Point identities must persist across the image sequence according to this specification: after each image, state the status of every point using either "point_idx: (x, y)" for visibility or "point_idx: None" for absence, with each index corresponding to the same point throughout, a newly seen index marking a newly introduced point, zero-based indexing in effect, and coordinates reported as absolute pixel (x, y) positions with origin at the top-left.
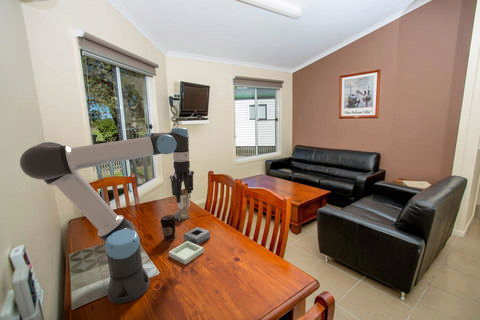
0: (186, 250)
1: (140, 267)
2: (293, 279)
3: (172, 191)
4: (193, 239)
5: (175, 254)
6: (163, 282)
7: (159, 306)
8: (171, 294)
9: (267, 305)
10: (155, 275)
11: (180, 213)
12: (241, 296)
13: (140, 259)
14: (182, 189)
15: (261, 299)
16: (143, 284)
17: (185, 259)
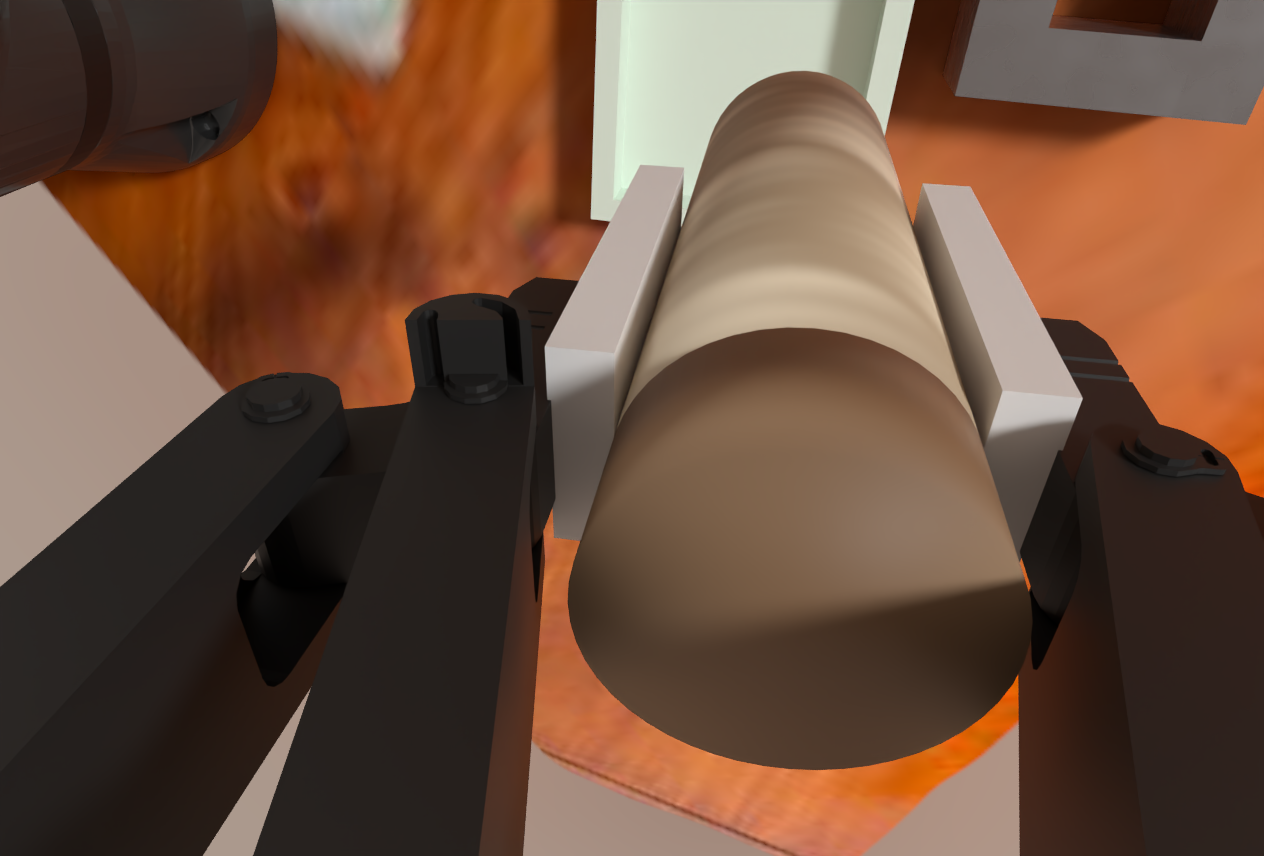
0: (784, 42)
1: (61, 168)
2: (815, 817)
3: (121, 518)
4: (968, 22)
5: (605, 45)
6: (353, 198)
7: (239, 338)
8: (334, 336)
9: (592, 751)
10: (348, 57)
11: (707, 150)
12: (572, 658)
13: (11, 181)
14: (828, 574)
15: (609, 729)
16: (163, 167)
17: (599, 218)
